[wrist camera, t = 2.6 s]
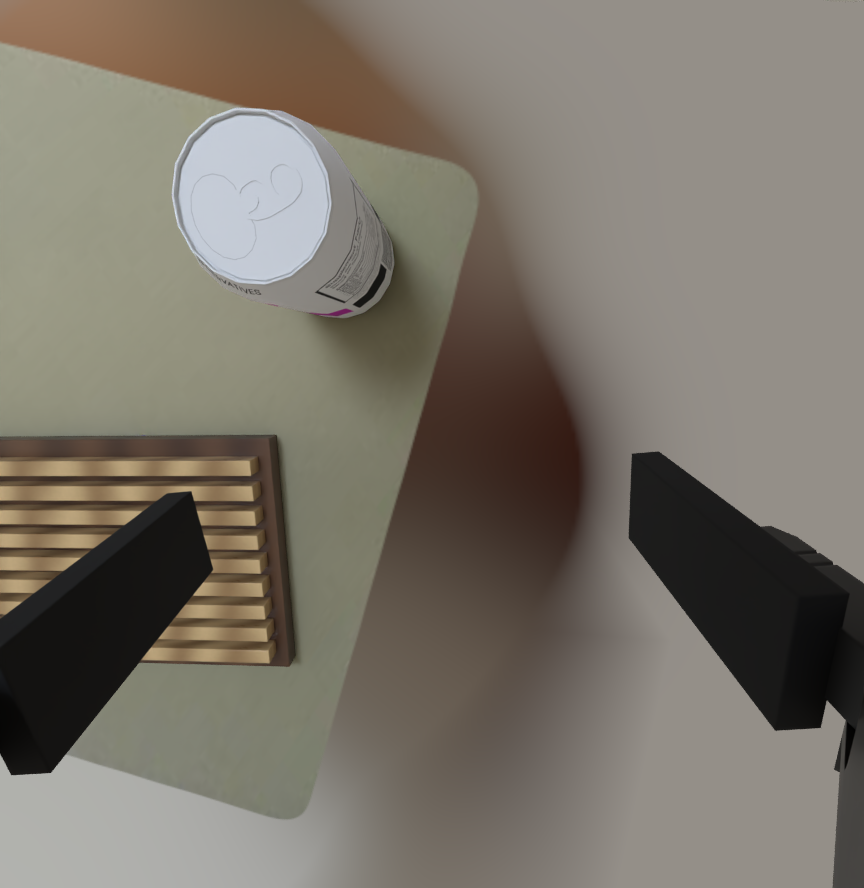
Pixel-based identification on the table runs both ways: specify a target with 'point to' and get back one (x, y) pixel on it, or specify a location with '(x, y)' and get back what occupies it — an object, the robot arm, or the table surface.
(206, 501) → the scrub board
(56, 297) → the table surface
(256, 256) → the supplement can
